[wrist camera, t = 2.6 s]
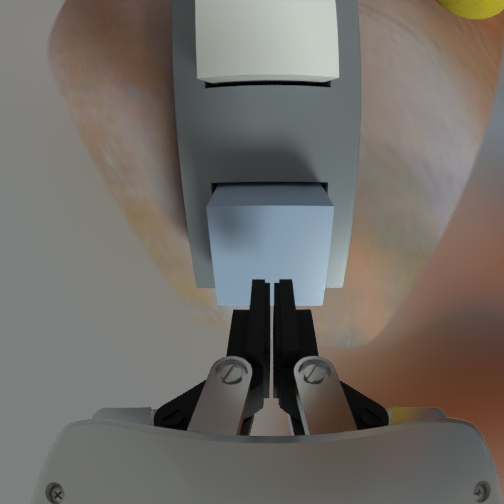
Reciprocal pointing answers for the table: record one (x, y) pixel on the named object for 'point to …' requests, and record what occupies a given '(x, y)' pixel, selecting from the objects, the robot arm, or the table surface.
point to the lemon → (473, 7)
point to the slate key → (270, 239)
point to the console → (267, 136)
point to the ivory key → (266, 41)
